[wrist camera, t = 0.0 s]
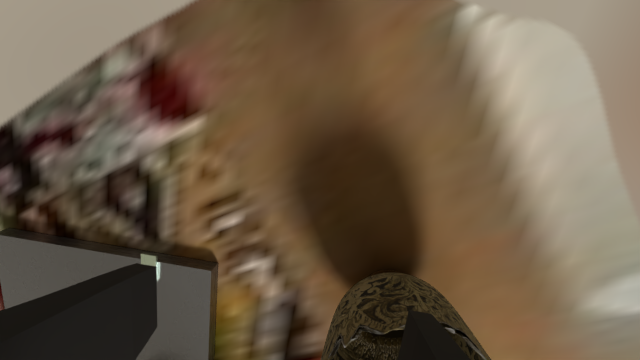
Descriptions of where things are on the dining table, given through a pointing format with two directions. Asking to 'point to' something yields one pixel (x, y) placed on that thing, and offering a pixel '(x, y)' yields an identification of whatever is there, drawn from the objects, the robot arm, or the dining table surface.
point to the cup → (390, 318)
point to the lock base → (96, 259)
